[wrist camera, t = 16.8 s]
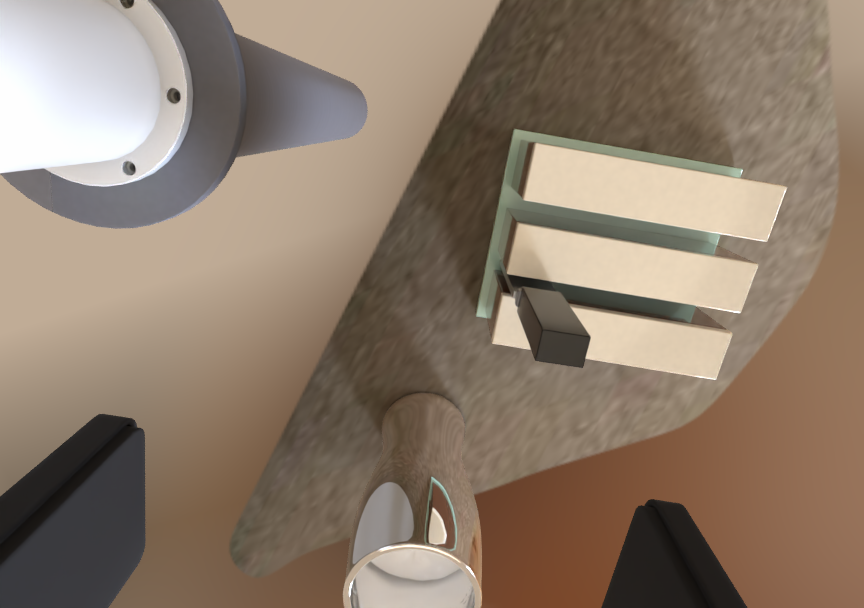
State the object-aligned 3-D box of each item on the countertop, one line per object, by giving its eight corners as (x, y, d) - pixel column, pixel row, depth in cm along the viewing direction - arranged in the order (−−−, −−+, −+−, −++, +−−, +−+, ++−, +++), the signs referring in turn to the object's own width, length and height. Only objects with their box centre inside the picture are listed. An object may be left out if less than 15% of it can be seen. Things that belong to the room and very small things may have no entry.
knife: (497, 272, 35) (528, 360, 22) (502, 251, 34) (536, 328, 22) (536, 277, 35) (589, 369, 22) (540, 257, 35) (597, 337, 22)
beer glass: (407, 369, 38) (384, 516, 24) (489, 415, 39) (515, 583, 25) (359, 441, 40) (312, 617, 26) (439, 484, 41) (436, 675, 27)
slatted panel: (475, 312, 37) (481, 350, 31) (512, 128, 33) (528, 130, 27) (676, 345, 37) (721, 389, 31) (736, 168, 33) (801, 178, 27)
